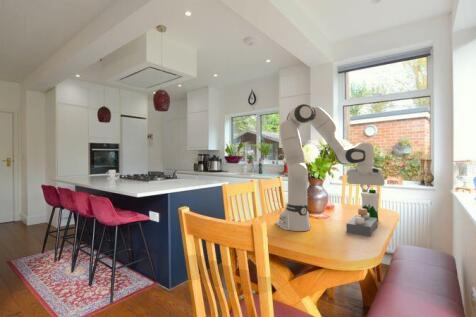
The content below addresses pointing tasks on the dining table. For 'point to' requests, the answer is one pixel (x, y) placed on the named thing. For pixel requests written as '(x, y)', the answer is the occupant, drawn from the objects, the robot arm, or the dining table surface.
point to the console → (362, 226)
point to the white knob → (359, 220)
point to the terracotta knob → (362, 212)
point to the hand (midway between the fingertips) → (365, 192)
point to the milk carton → (370, 203)
